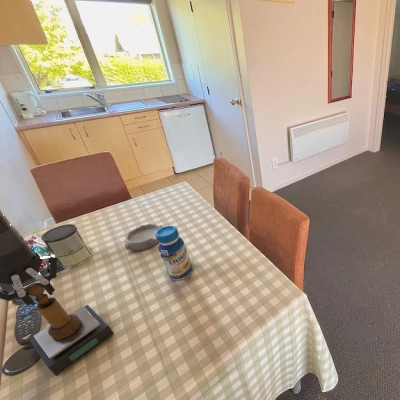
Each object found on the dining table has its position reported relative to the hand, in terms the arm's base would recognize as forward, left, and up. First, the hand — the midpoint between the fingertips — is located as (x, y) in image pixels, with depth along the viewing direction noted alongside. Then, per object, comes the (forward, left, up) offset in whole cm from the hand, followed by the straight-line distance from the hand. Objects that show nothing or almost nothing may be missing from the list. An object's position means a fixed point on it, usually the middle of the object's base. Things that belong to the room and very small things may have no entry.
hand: (41, 298), depth 69 cm
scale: (0, 0, -19) cm, 19 cm away
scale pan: (0, 0, -14) cm, 14 cm away
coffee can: (+15, +42, -19) cm, 48 cm away
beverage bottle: (+33, -2, -19) cm, 38 cm away
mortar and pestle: (0, 0, -13) cm, 13 cm away
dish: (+36, +29, -19) cm, 50 cm away
